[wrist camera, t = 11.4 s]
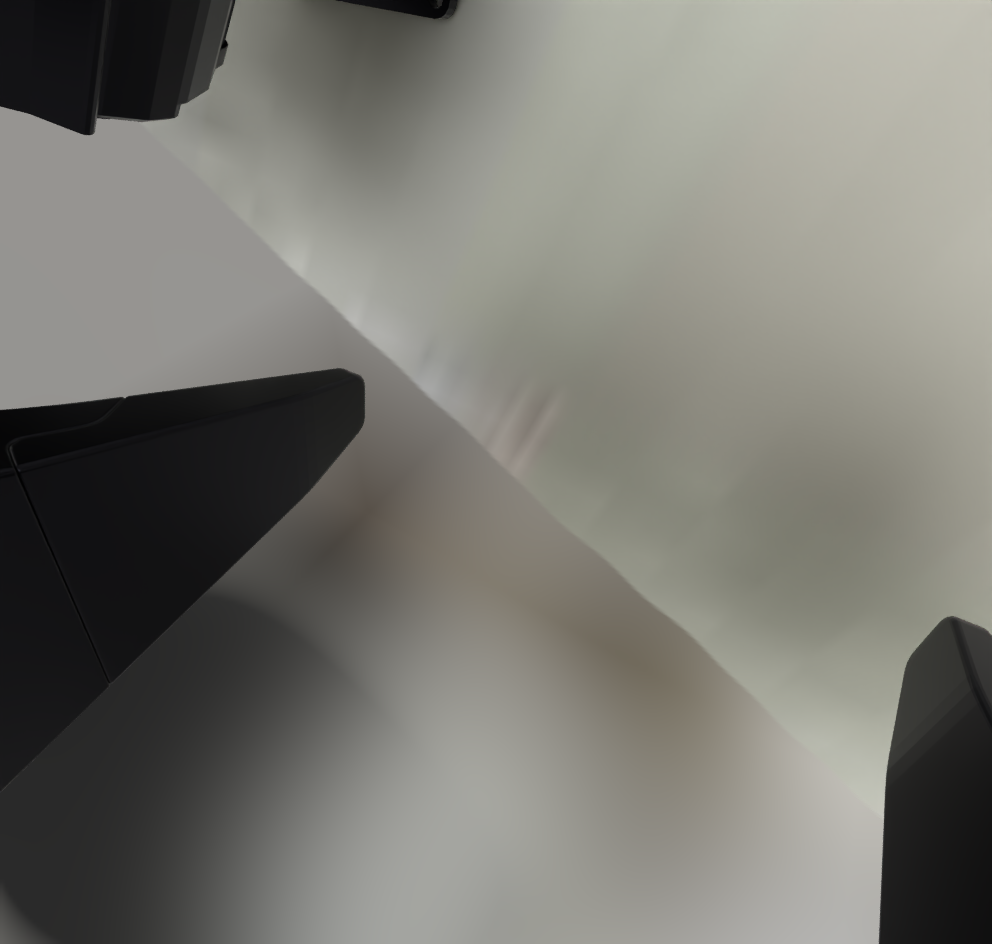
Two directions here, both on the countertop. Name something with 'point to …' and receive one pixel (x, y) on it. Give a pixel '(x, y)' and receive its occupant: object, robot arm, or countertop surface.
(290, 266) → the countertop surface
